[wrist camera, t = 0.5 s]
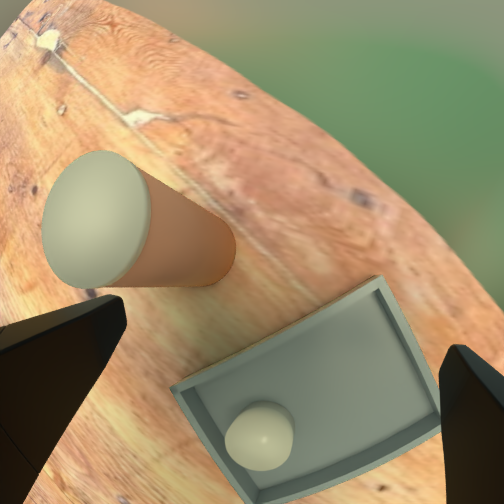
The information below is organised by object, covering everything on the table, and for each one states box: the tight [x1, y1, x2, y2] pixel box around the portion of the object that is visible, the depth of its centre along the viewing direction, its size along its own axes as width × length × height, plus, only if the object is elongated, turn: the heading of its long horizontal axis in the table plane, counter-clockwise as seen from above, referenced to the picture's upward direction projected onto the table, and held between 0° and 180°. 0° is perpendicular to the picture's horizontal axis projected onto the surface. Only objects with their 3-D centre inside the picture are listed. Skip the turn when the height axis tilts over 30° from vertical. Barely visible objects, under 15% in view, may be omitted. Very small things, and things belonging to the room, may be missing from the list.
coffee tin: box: [41, 150, 236, 289], centre depth 18 cm, size 6×6×13 cm
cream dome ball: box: [225, 401, 295, 471], centre depth 20 cm, size 4×4×3 cm
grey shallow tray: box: [169, 275, 441, 504], centre depth 20 cm, size 16×12×3 cm
